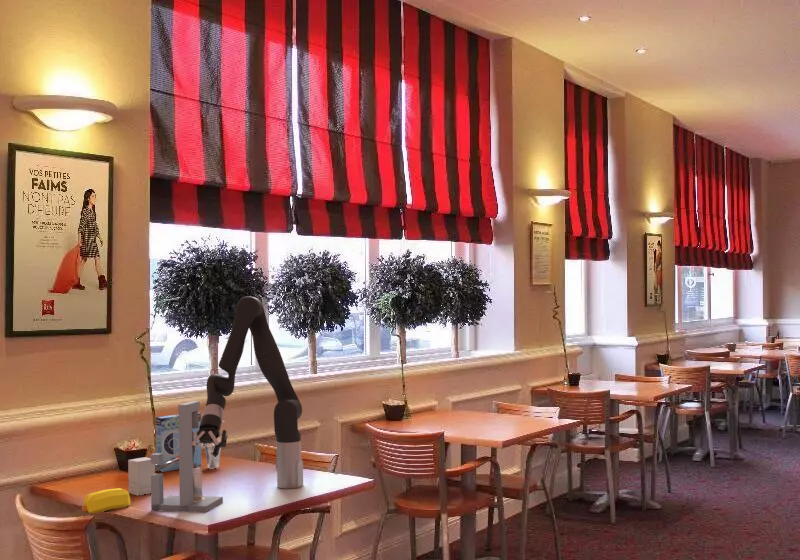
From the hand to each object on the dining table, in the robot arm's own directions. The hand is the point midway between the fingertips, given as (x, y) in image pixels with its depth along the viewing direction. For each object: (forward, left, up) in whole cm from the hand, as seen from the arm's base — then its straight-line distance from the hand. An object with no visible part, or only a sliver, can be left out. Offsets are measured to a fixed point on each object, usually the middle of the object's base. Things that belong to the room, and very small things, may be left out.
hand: (202, 456), depth 307 cm
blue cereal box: (+37, -56, -16) cm, 69 cm away
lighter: (-8, -64, -16) cm, 67 cm away
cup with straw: (+22, -58, -16) cm, 64 cm away
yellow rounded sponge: (+29, +15, -16) cm, 36 cm away
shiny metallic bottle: (0, +7, -14) cm, 15 cm away
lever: (+10, +4, -3) cm, 12 cm away
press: (+2, +9, -16) cm, 18 cm away
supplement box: (+29, -9, -16) cm, 34 cm away
